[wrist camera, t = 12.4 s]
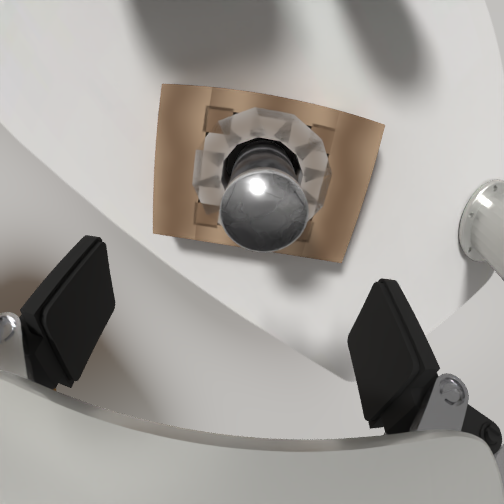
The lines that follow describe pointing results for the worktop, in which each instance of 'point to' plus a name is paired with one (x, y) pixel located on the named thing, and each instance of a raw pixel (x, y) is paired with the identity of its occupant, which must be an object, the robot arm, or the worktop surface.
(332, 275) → the worktop surface
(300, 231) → the shiny metal canister
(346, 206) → the mount board
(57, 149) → the worktop surface
